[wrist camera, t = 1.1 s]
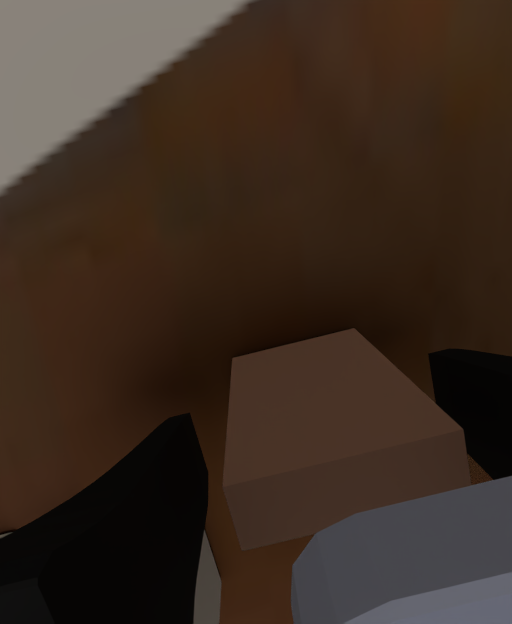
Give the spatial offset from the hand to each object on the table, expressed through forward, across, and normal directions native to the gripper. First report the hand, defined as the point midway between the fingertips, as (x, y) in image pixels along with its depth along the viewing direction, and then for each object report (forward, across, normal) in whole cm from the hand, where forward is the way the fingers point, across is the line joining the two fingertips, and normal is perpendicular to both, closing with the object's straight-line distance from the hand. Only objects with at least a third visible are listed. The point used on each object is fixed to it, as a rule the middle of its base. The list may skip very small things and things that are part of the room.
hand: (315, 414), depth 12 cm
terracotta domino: (+5, 0, 0) cm, 5 cm away
